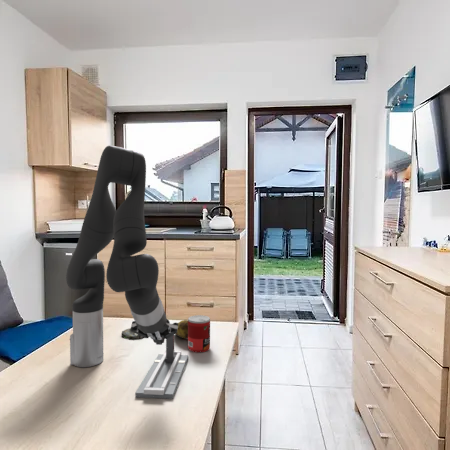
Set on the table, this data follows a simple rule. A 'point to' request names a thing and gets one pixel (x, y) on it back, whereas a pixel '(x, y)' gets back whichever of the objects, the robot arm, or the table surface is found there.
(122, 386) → the table surface
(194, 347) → the canned food
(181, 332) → the potato
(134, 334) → the grey rough oval piece
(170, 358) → the fader tab
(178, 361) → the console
